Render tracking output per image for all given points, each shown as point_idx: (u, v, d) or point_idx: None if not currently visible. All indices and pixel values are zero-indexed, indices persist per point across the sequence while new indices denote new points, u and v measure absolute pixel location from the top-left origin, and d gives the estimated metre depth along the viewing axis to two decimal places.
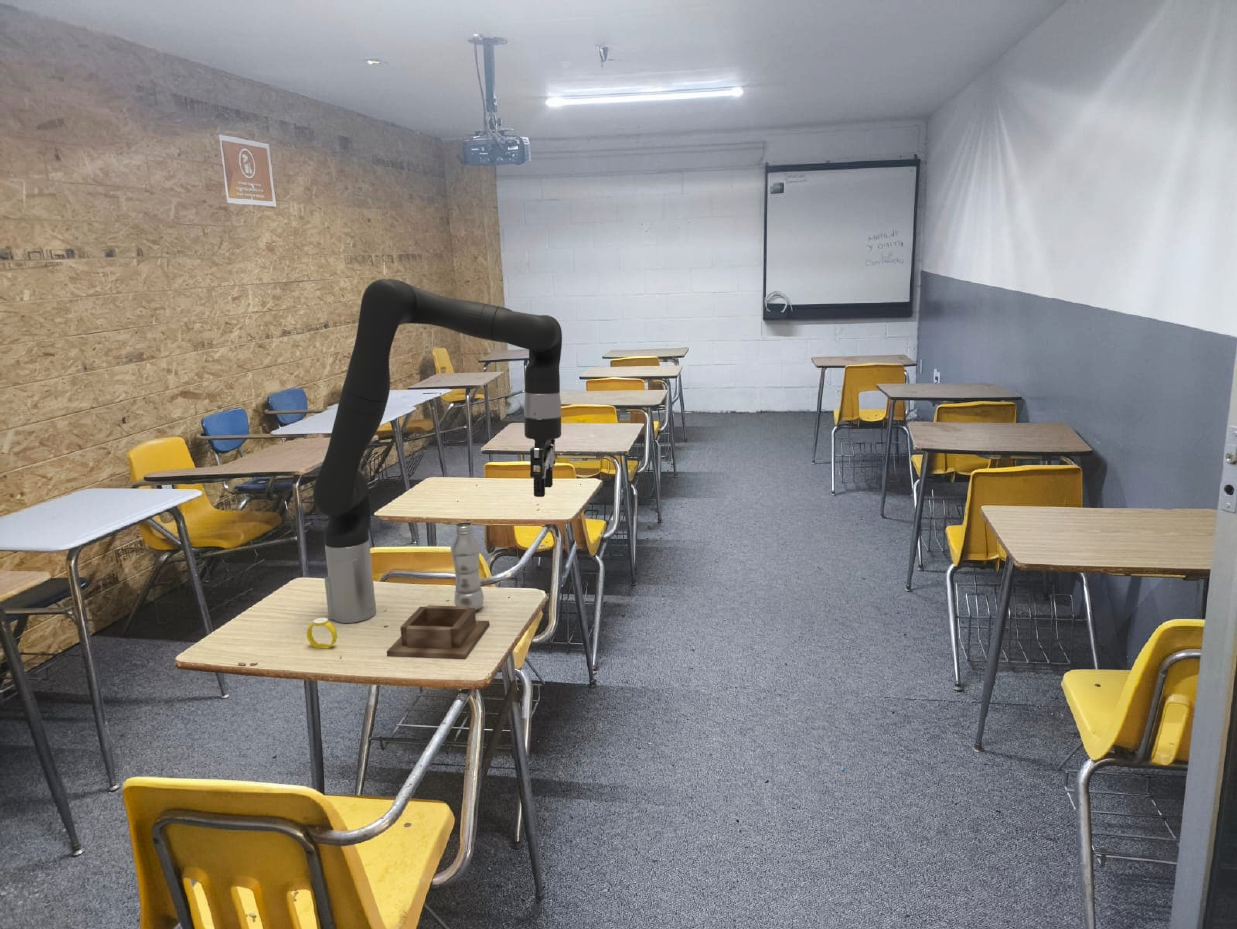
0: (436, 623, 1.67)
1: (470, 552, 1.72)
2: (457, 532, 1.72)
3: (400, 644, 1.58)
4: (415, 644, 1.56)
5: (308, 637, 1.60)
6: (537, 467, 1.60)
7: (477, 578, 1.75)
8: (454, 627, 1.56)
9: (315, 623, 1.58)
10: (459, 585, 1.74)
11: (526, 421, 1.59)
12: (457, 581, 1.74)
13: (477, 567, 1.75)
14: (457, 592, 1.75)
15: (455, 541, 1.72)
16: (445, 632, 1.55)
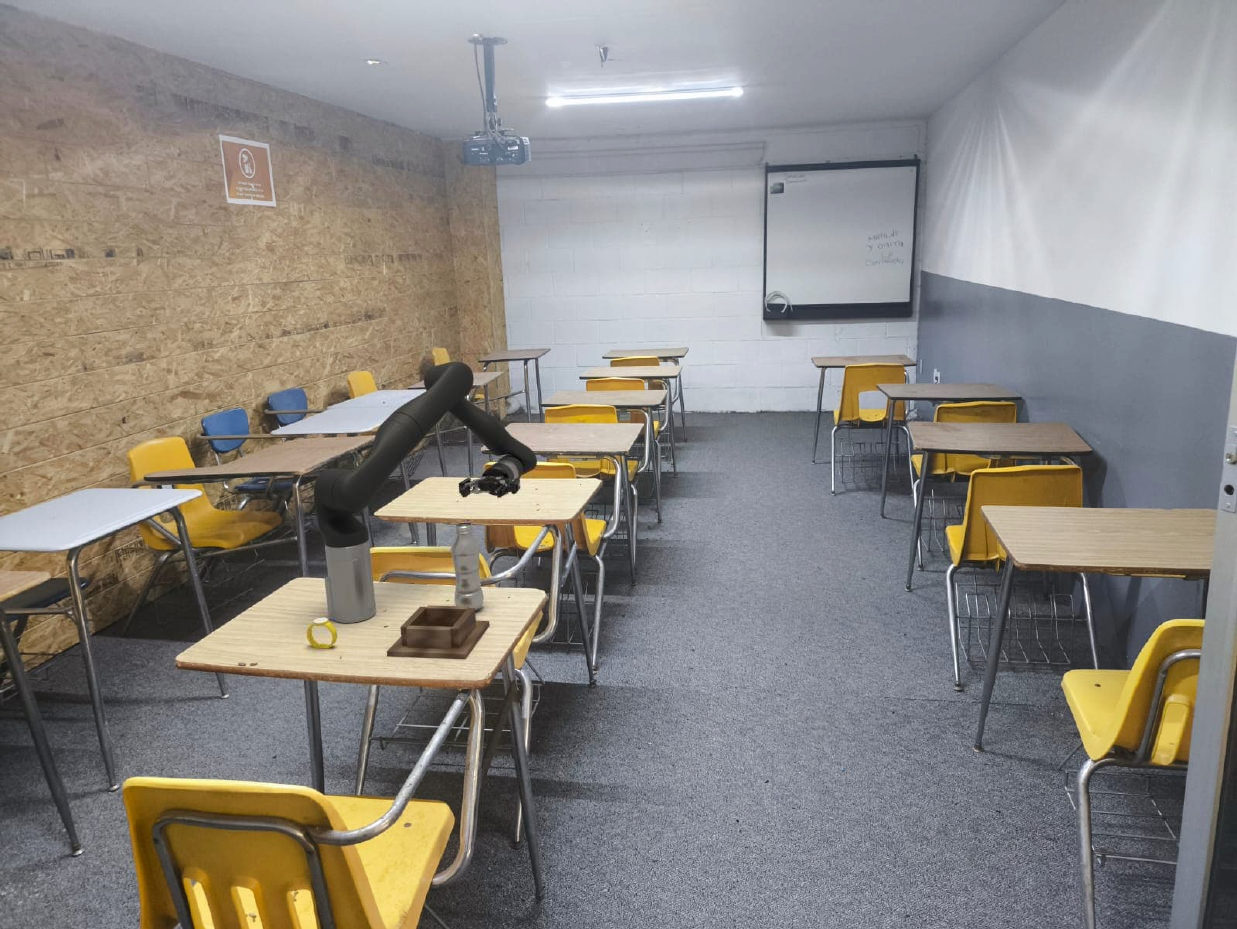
0: (436, 623, 1.67)
1: (470, 552, 1.72)
2: (457, 532, 1.72)
3: (400, 644, 1.58)
4: (415, 644, 1.56)
5: (308, 637, 1.60)
6: None
7: (477, 578, 1.75)
8: (454, 627, 1.56)
9: (315, 623, 1.58)
10: (459, 585, 1.74)
11: (507, 467, 1.99)
12: (457, 581, 1.74)
13: (477, 567, 1.75)
14: (457, 592, 1.75)
15: (455, 541, 1.72)
16: (445, 632, 1.55)
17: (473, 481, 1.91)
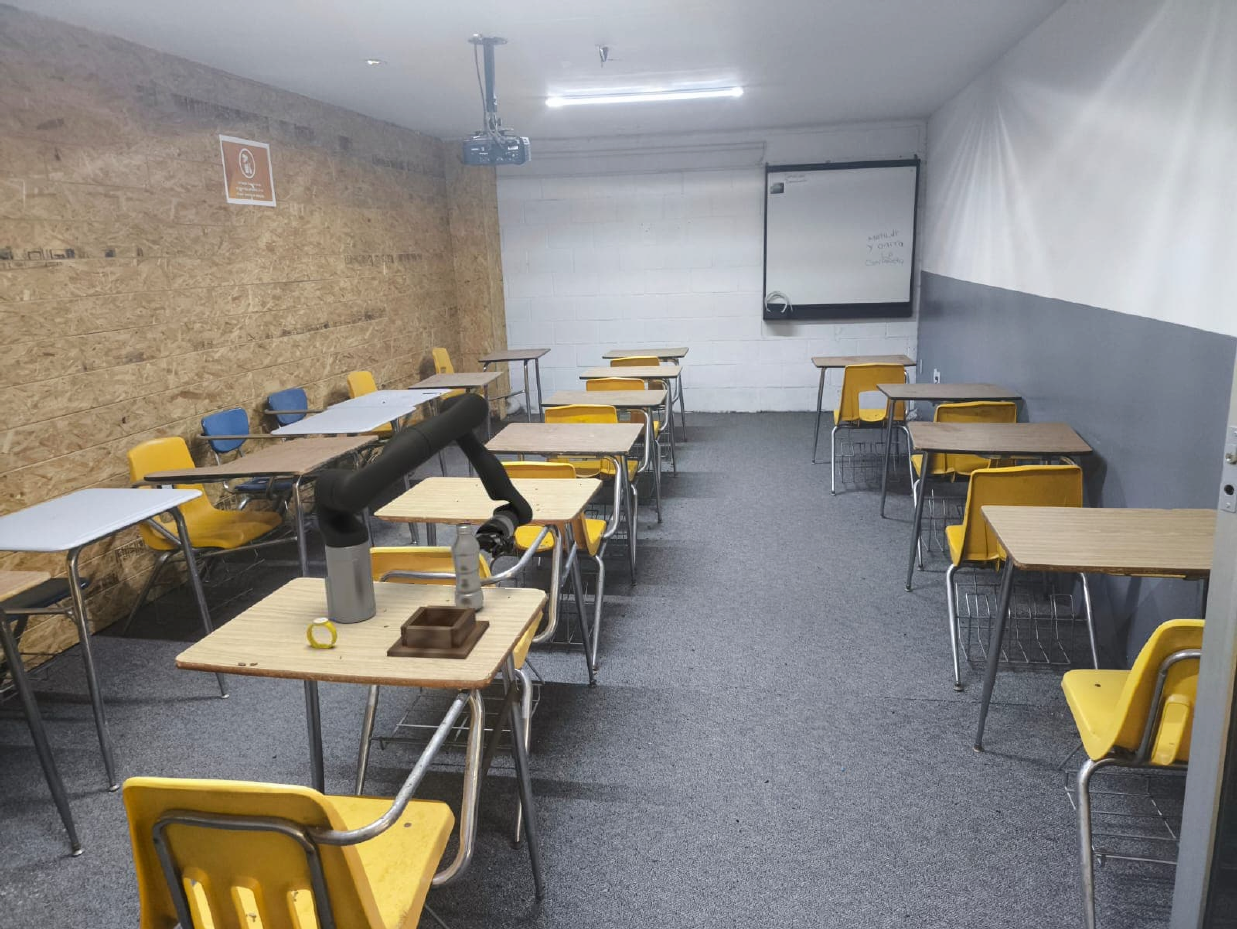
0: (436, 623, 1.67)
1: (470, 552, 1.72)
2: (457, 532, 1.72)
3: (400, 644, 1.58)
4: (415, 644, 1.56)
5: (308, 637, 1.60)
6: None
7: (477, 578, 1.75)
8: (454, 627, 1.56)
9: (315, 623, 1.58)
10: (459, 585, 1.74)
11: (502, 523, 1.95)
12: (457, 581, 1.74)
13: (477, 567, 1.75)
14: (457, 592, 1.75)
15: (455, 541, 1.72)
16: (445, 632, 1.55)
17: None
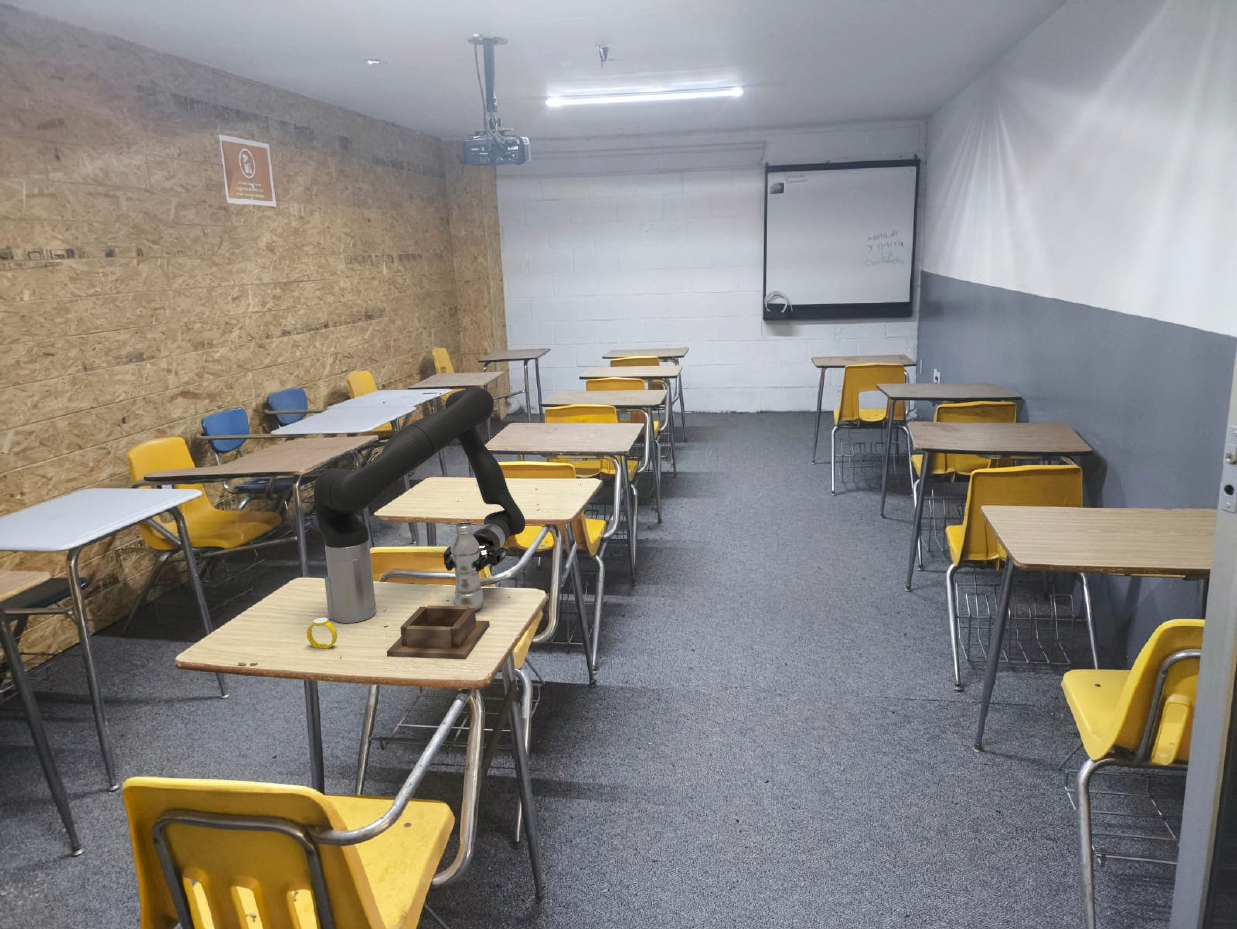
0: (436, 623, 1.67)
1: (470, 552, 1.72)
2: (457, 532, 1.72)
3: (400, 644, 1.58)
4: (415, 644, 1.56)
5: (308, 637, 1.60)
6: None
7: (477, 578, 1.75)
8: (454, 627, 1.56)
9: (315, 623, 1.58)
10: (459, 585, 1.74)
11: (493, 533, 1.87)
12: (457, 581, 1.74)
13: None
14: (457, 592, 1.75)
15: (455, 541, 1.72)
16: (445, 632, 1.55)
17: None
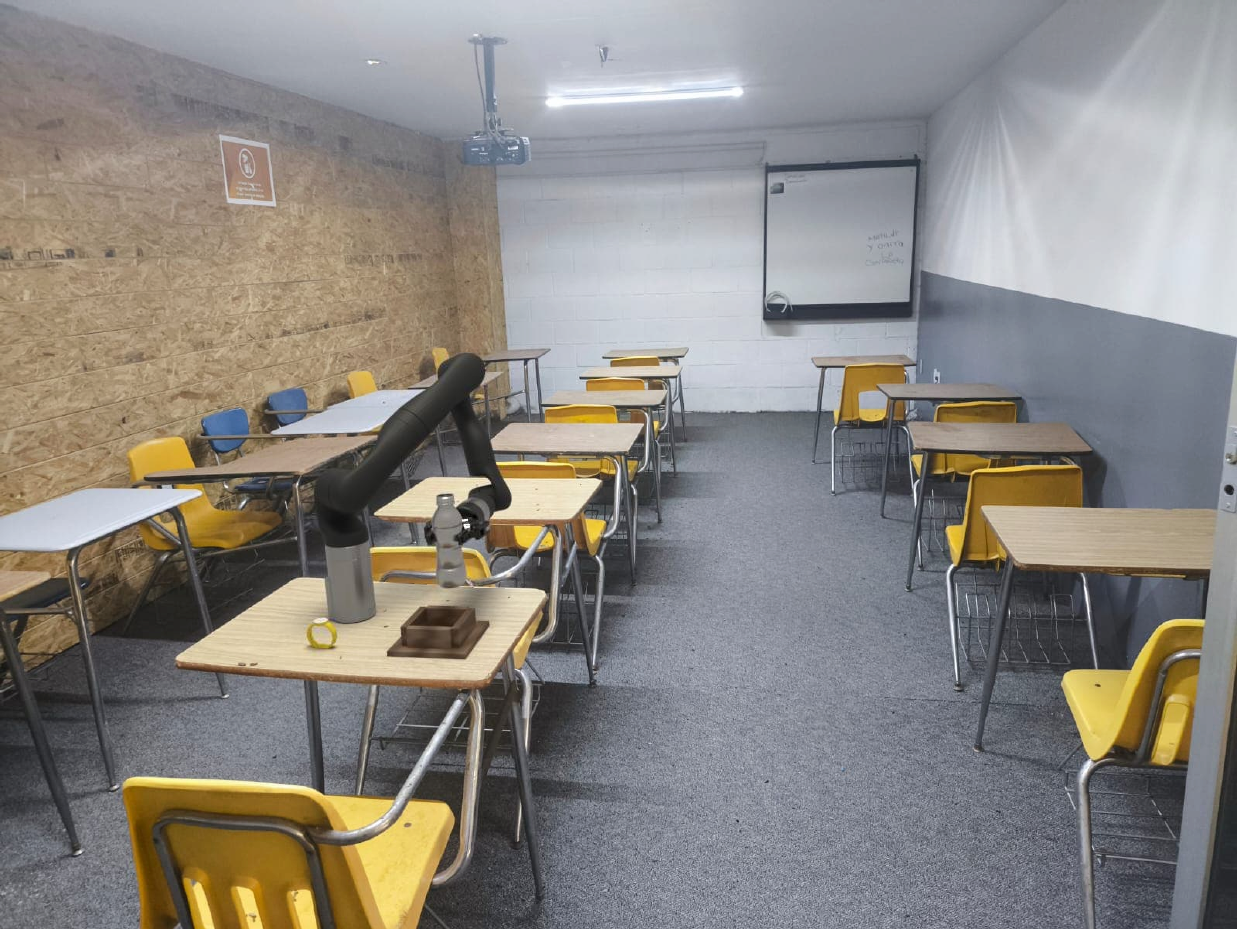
0: (436, 623, 1.67)
1: (452, 525, 1.62)
2: (438, 503, 1.62)
3: (400, 644, 1.58)
4: (415, 644, 1.56)
5: (308, 637, 1.60)
6: None
7: (459, 552, 1.65)
8: (454, 627, 1.56)
9: (315, 623, 1.58)
10: (440, 560, 1.64)
11: (476, 506, 1.77)
12: (438, 556, 1.64)
13: None
14: (438, 567, 1.65)
15: (436, 513, 1.62)
16: (445, 632, 1.55)
17: None
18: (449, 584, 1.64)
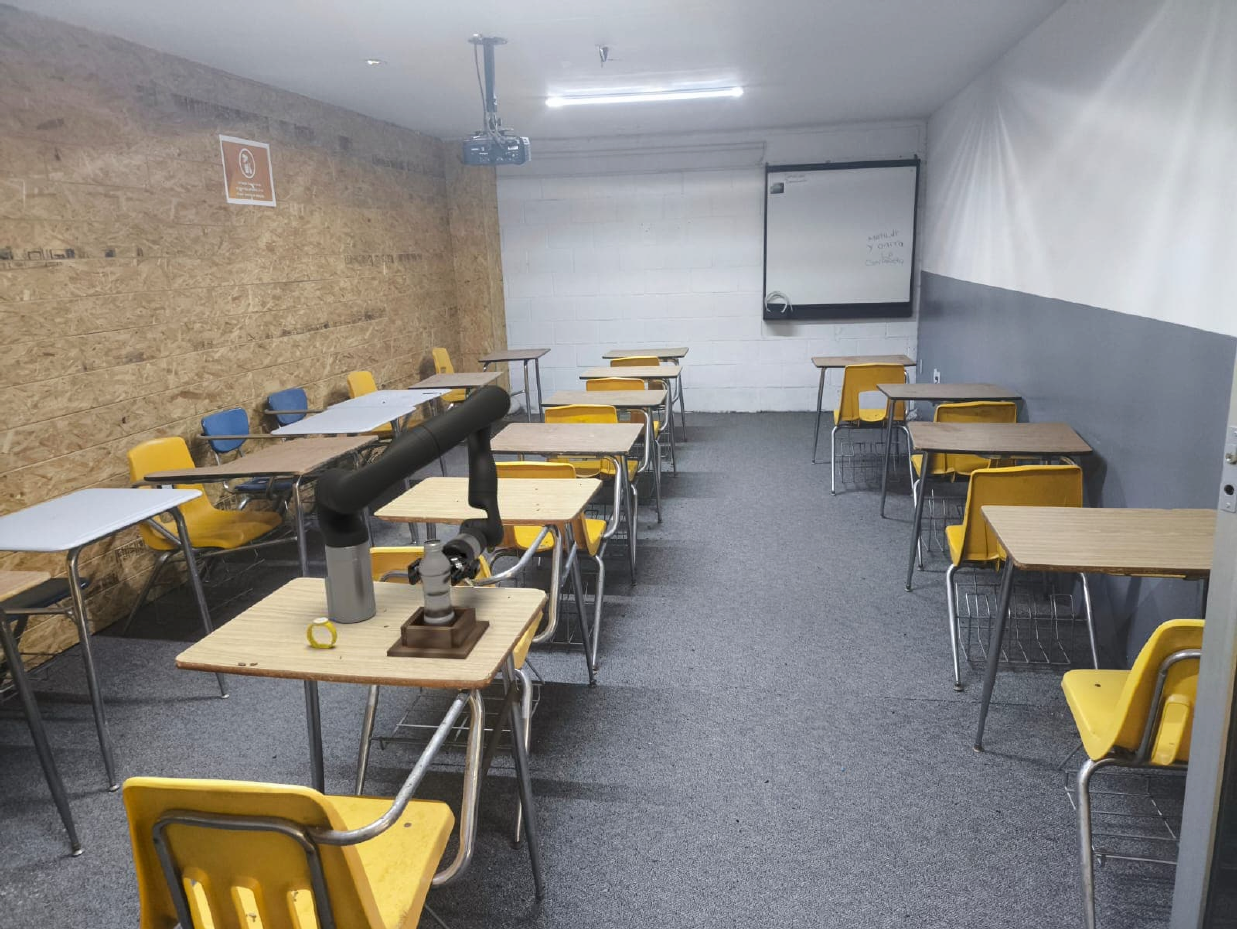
0: None
1: (439, 572, 1.57)
2: (425, 550, 1.57)
3: (400, 644, 1.58)
4: (415, 644, 1.56)
5: (308, 637, 1.60)
6: None
7: (448, 600, 1.60)
8: (454, 627, 1.56)
9: (315, 623, 1.58)
10: (428, 608, 1.59)
11: (466, 544, 1.71)
12: (426, 604, 1.59)
13: (448, 588, 1.59)
14: (426, 616, 1.59)
15: (423, 560, 1.57)
16: (445, 632, 1.55)
17: None
18: None
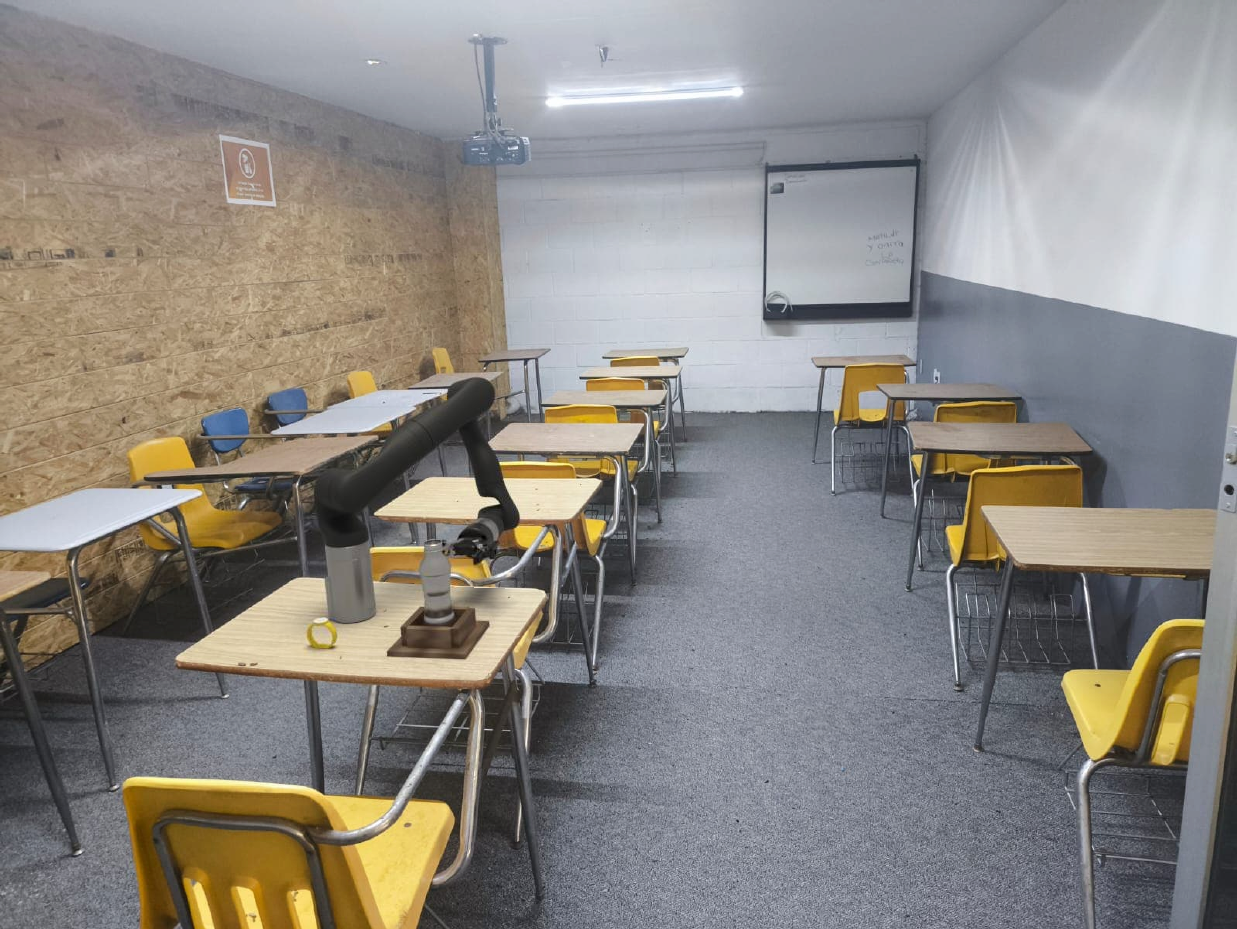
0: None
1: (439, 573, 1.56)
2: (425, 551, 1.57)
3: (400, 644, 1.58)
4: (415, 644, 1.56)
5: (308, 637, 1.60)
6: None
7: (448, 601, 1.60)
8: (454, 627, 1.56)
9: (315, 623, 1.58)
10: (428, 608, 1.59)
11: (486, 527, 1.83)
12: (426, 604, 1.59)
13: (448, 589, 1.59)
14: (426, 616, 1.59)
15: (423, 560, 1.57)
16: (445, 632, 1.55)
17: (448, 545, 1.76)
18: None
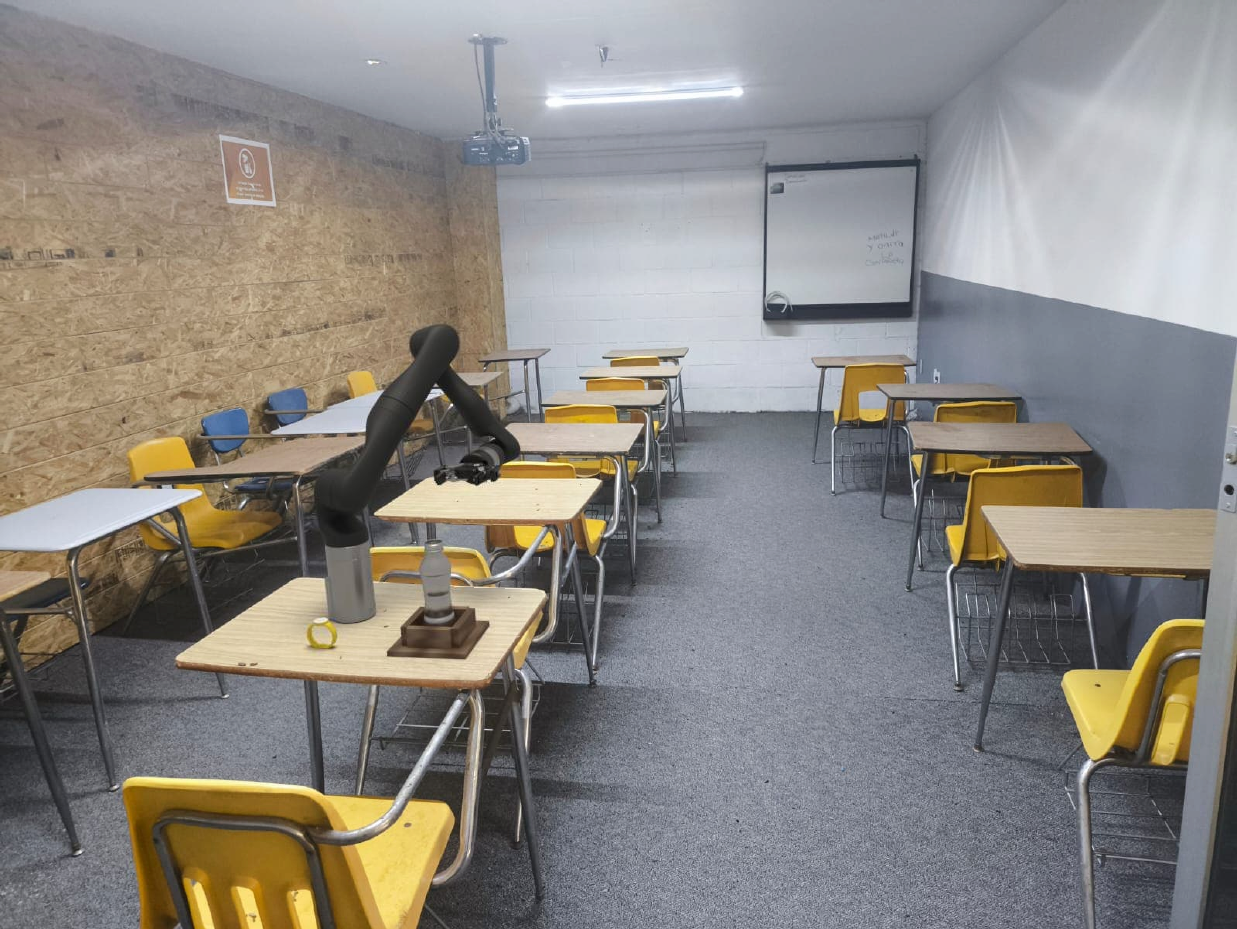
0: None
1: (440, 573, 1.56)
2: (426, 551, 1.57)
3: (400, 644, 1.58)
4: (415, 644, 1.56)
5: (308, 637, 1.60)
6: None
7: (448, 601, 1.60)
8: (454, 627, 1.56)
9: (315, 623, 1.58)
10: (428, 608, 1.59)
11: (487, 453, 1.84)
12: (426, 604, 1.59)
13: (448, 589, 1.59)
14: (426, 616, 1.59)
15: (424, 560, 1.57)
16: (445, 632, 1.55)
17: (449, 468, 1.76)
18: None
